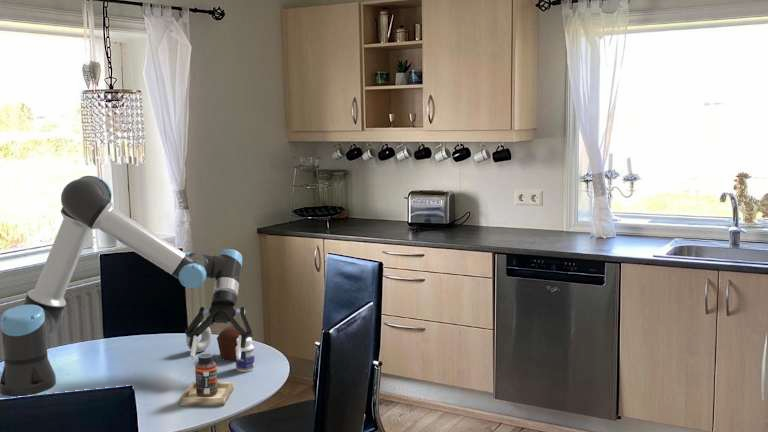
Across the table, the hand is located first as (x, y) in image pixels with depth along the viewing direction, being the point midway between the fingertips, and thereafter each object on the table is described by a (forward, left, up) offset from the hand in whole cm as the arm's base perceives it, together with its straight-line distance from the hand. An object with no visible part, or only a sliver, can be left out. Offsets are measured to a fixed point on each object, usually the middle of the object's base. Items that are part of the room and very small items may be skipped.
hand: (215, 357), depth 223 cm
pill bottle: (+6, +13, -8) cm, 16 cm away
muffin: (0, +25, -8) cm, 26 cm away
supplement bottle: (0, -10, -7) cm, 13 cm away
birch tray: (0, -10, -8) cm, 13 cm away
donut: (-13, +30, -8) cm, 33 cm away
